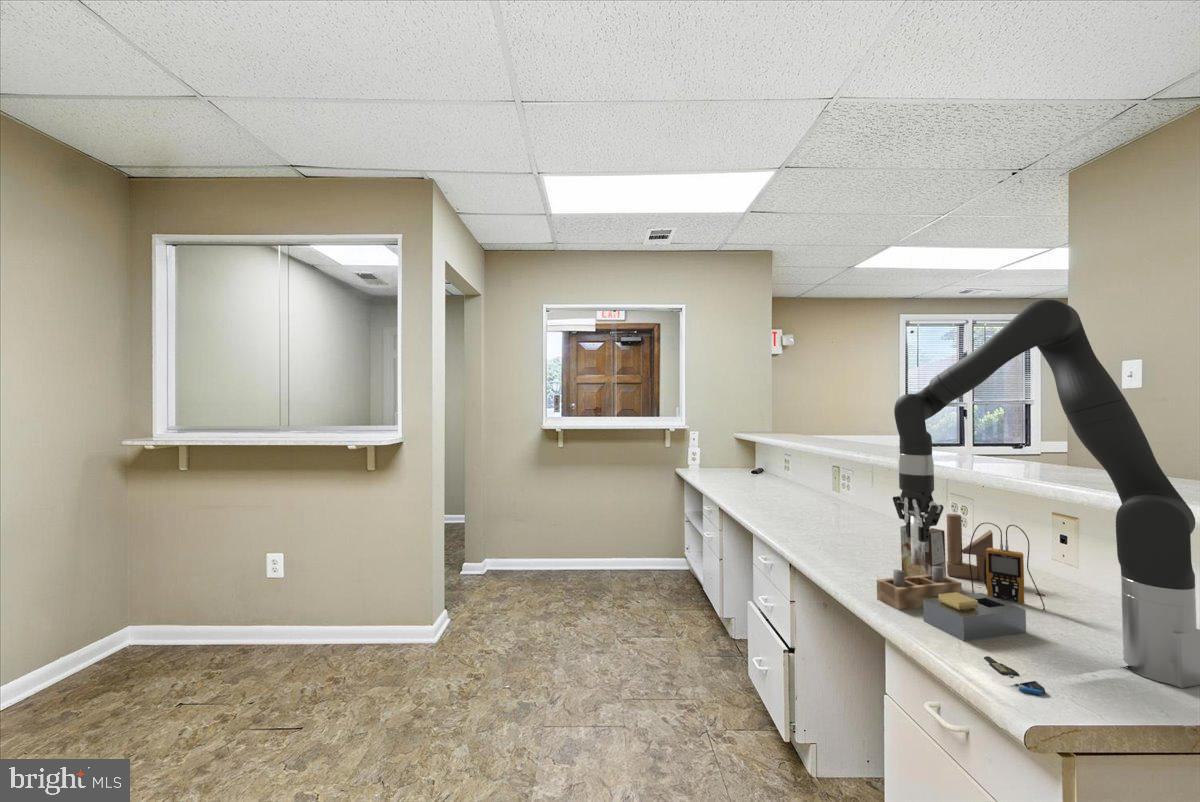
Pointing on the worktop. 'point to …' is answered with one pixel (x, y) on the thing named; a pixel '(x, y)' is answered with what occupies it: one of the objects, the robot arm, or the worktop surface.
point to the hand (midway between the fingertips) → (917, 539)
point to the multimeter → (1004, 572)
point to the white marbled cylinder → (916, 543)
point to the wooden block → (965, 550)
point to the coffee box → (932, 553)
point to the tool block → (976, 618)
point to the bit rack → (915, 588)
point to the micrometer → (1004, 670)
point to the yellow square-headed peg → (958, 601)
